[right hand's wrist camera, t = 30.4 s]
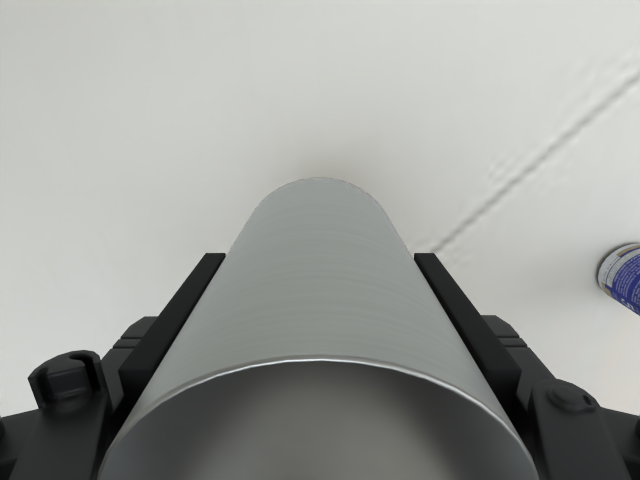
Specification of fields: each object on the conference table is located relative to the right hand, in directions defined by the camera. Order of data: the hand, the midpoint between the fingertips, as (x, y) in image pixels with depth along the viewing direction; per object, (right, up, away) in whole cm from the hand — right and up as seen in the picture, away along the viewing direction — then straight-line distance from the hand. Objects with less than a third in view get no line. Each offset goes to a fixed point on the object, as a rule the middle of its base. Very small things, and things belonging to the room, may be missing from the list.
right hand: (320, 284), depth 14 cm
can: (0, +1, +3) cm, 3 cm away
